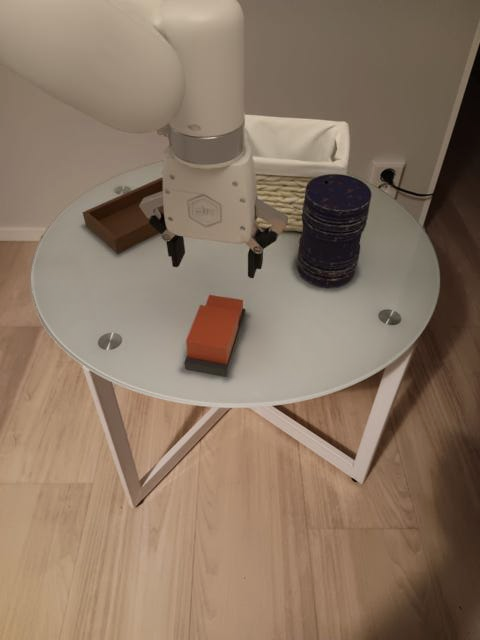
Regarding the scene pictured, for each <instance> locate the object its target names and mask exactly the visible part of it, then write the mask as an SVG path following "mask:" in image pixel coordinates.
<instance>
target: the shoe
mask: <svg viewBox="0 0 480 640" xmlns="http://www.w3.org/2000/svg"><path fill="white" fill-rule="evenodd" d="M245 319H246V308H244V299H240V298H233V297H226V296H222V295H221V296H220V295H214V294H209V295H208V297H207V299H206V303H205V305H202V304H200V305H199V308H198V310H197V312H196V315H195V317H194V320H193V322H192V325H191V327H190V329H189V332H188V335H187V337H186V340H185V343H186V352H187V355H186V358H185V360H184V363H183V364H184V369H185V370H187V371H194V372H198V373H204V374H209V375H214V376H219V377H225V378H227V377H228V374H229V372H230V368H231V365H232V361H233V358H234V355H235V351H236V349H237V346H238V343H239V342H238V341H239V338H240V335H241V331H242V329H243V325H244V322H245Z"/></svg>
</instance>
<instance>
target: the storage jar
mask: <svg viewBox="0 0 480 640" xmlns="http://www.w3.org/2000/svg"><path fill="white" fill-rule="evenodd" d="M372 194H373V193H372V190H371V188H370V187H369V186H368V184H367V183H365V182H364V181H362V180H361V179H360V178H356V177H354V176H351V175H348V174H347V175H341V174H327V175H322V176H318V177H316V178H314V179H312V180H311V181H310V182H309V183H308V184H307V186H306V190H305V199H304V202H303V213H302V223H303V230H302V232H301V235H300V238H299V242H298V249H297V263H296V265H297V266H296V270H297V273H298V275H299V277H300V278H301V279H302V280H303V281H304V282H306V283H308V284H309V285H311V286H314V287H317V288H321V289H337V288H341V287H344V286H346V285H347V284H349V283H350V282H351V281H352V280H353V279H354V277H355V274H356V268H357V265H358V262H359V259H360V253H361V238H362V236H363V235H362V234H363V232H364V231H365V228H366V226H367V220H368V217H369V213H370V204H371V200H372V197H373V196H372Z"/></svg>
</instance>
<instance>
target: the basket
mask: <svg viewBox="0 0 480 640" xmlns="http://www.w3.org/2000/svg"><path fill="white" fill-rule="evenodd" d="M245 144H248V145H249V146H250V148H251V152H252V156H253V161H254V167H255V173H256V182H257V193H258V199H259V200H261V201H262V202H264V203H266V204H268V205H269V206H271V207H273V208H275V209H276V210H278V211H280V212H281V213H283V214H285V215H287V216H288V222H287V225H286V227H285V229H284V230H283V231H295V232H300V233H302V230H303V223H302V213H303V202H304V199H305V190H306V186H307V184H308V183H309V182H310V181H311V180H312V179H314V178H316V177H318V176H322V175H327V174H341V175H347V176H348V166H349V159H350V150H351V135H350V125H349V123H348V122H347V121H343V120H341V121H340V120H339V121H338V120H327V119H318V118H301V117H300V118H299V117H283V116H281V117H280V116H269V115H257V114H246V113H245ZM255 222H256V223H257V224H258V225H259V226H260V227H261V229H267V228H268V227H270V226H271V224H270V223H268V222H267V221H265V220H263V219H261V218H259V217H258V216H257V220H256V221H255Z"/></svg>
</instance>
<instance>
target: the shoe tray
mask: <svg viewBox="0 0 480 640" xmlns="http://www.w3.org/2000/svg"><path fill="white" fill-rule="evenodd" d="M161 191H163V177H159V178H156V179H155V180H152V181H150V182H148V183H146V184H144V185H141V186H139V187H136V188H134V189H132V190H130V191H128V192H125V193H123V194H121V195H118V196H115V197H114V198H112V199H109V200H107V201H104V202H103V203H101V204H98V205H96V206H93V207H92V208H89V209H87V210H85V211H83V212H82V217H83V220H84V224H85V227H86V228H87V229H88V230H90V231H91V232H92V233H93V234H95V236H96V237H97V238H98V239H100V240H101V241H102V242H103V243H104V244H106V245H107V246H108V247H109V248H110V249H112V250H113V251H114V252H115V253H116V254H121V253H122V252H124V251H126V250H129V249H130V248H132V247H134V246H136V245H138V244H140V243H142V242H144V241H146V240H149V239H150V238H152V237H154V236H156V235H158V234H161V233H160V232H159V231H157V230H156V229H155V228H154V227H153V226H152V225H151V224H150V223H149V219H148V218H147V217H146V216H145V214H144V213H143V211H142V210H141V209H140V207H139V205H140V203H141V201H142V200H143V198H145V197H148V196H150V195H153V194H156V193H158V192H161ZM158 211H160V212H162V213H163V214H164V206H161V207H158Z"/></svg>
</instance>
